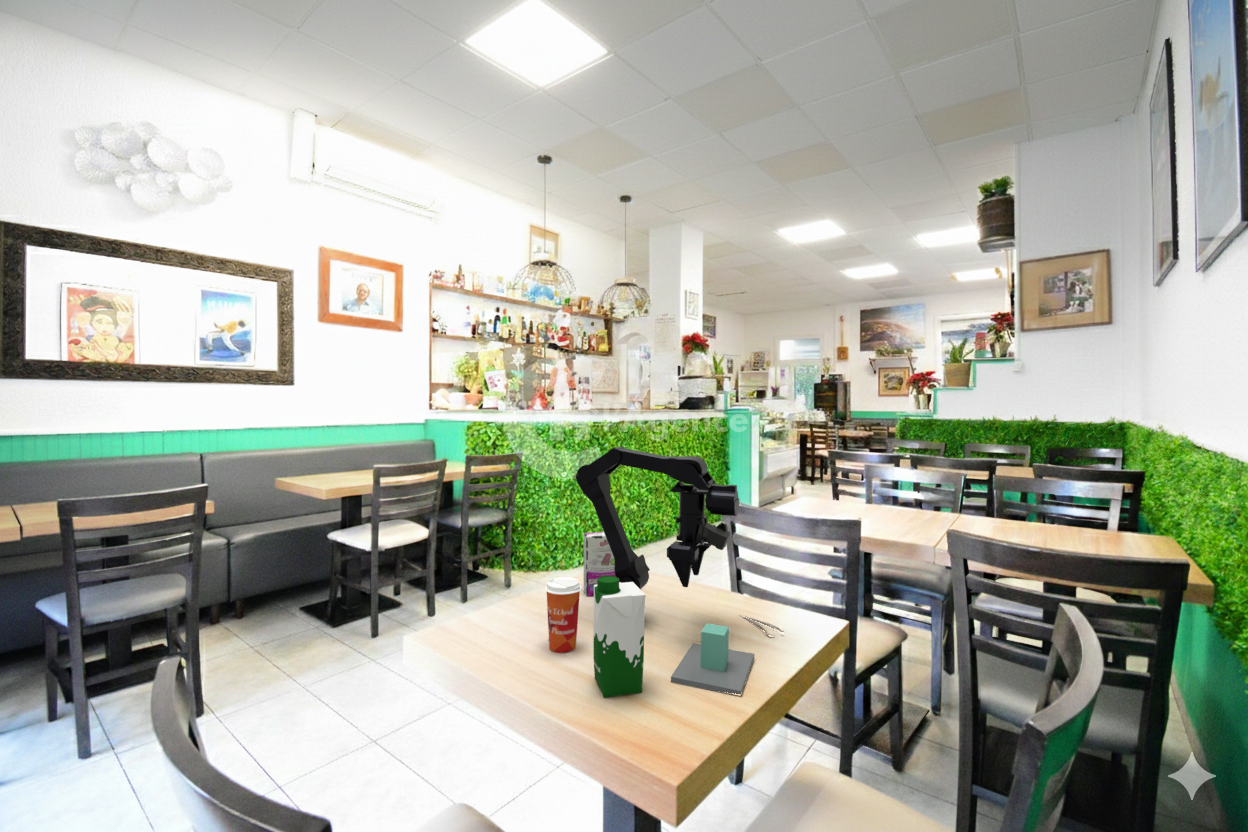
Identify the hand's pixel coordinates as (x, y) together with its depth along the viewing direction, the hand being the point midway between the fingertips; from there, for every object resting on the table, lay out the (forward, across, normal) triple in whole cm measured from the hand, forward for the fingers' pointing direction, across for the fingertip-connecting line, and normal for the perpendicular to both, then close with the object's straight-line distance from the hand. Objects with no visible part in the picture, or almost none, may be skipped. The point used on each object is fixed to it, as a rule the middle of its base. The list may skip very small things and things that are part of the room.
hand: (690, 580), depth 125 cm
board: (+12, -15, -9) cm, 21 cm away
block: (+11, -15, -9) cm, 21 cm away
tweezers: (+13, +12, -12) cm, 22 cm away
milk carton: (+12, -28, +6) cm, 31 cm away
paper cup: (+12, -18, +23) cm, 32 cm away
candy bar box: (+12, +17, +29) cm, 36 cm away
